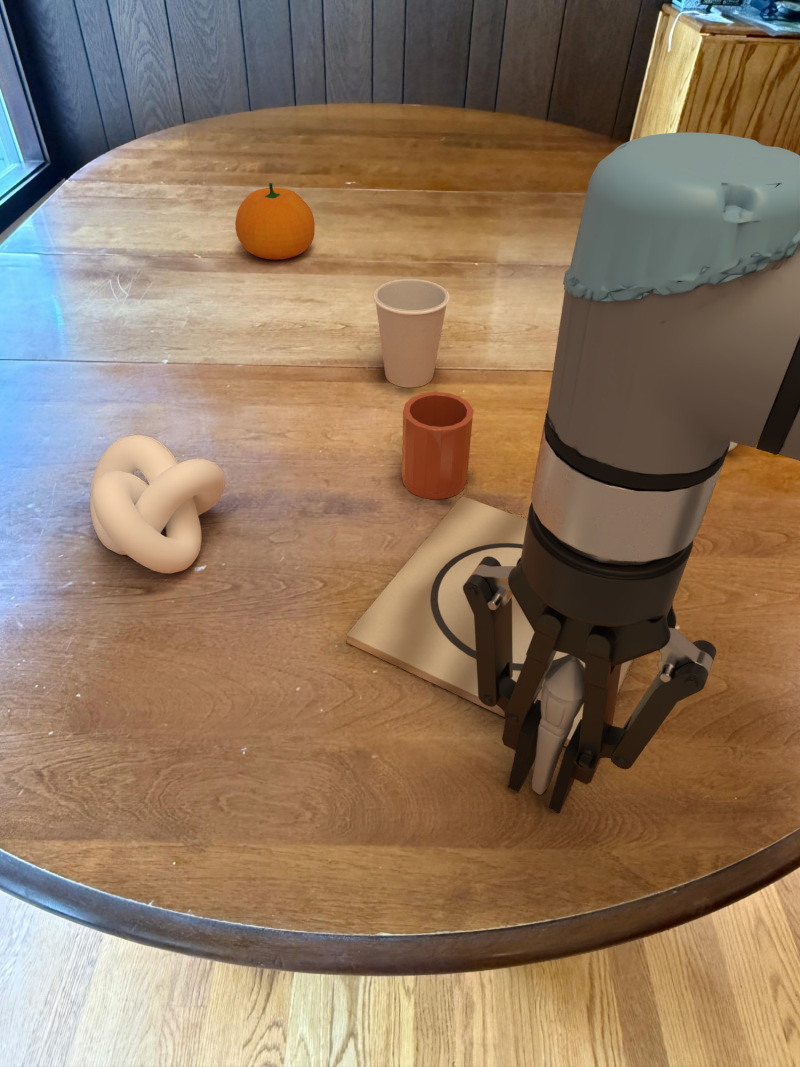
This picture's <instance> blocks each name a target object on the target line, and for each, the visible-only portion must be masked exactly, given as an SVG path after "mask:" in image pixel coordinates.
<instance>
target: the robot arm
mask: <svg viewBox="0 0 800 1067" xmlns="http://www.w3.org/2000/svg"><path fill="white" fill-rule="evenodd" d="M585 194H586V195H585V199H584V203H583V208H582V213H581V217H580V221H579V225H578V230H577V233H576V234H577V235H576V239H575V243H574V248H573V252H572V256H571V262H570V265H569V268H568V269H566V271H565V272H564V277H563V281H562V285H563V291H564V292H563V293H564V294H563V300H562V307H561V314H560V320H559V327H558V335H557V341H556V347H555V355H554V362H553V368H552V375H551V382H550V387H549V396H548V403H547V409H546V413H545V418H544V422H543V427H542V431H541V432H542V433H541V438H540V444H539V448H538V454H537V460H536V465H535V469H534V470H535V472H534V477H533V482H532V488H531V496H530V499H531V502H530V505H529V507H528V512H527V513H528V514H527V519H526V520H527V525H526V531H525V536H524V542H523V548H522V554H521V557H520V558H519V560H518V561H517V565H516V566H501V564H500V562H499V561H498V560H497V559H495V558H493V557H490V556H487V557H484V558H483V559H482V561H481V562H480V563H479V565H478V566H477V567H476V569H475V570H474V572H473V573H472V574H471V576H470V577H469V578H468V580H467V581H466V582H465V584H464V585H463V591H464V594H465V596H466V598H467V600H468V603H469V605H470V607H471V609H472V612H473V614H474V624H475V643H476V662H477V681H478V697H479V700H480V701H481V702H482V703H483V704H485V705H487V706H489V707H494V706H495V705H497V706H499V707H500V708H501V709H502V710H503V711H504V713H505V714H504V717H503V718H504V719H505V721H504V726H503V732H502V735H501V736H502V737H501V740H502V743H503V746H505V747H507V748H509V749H511V750H513V751H514V756H513V760H512V766H511V770H510V774H509V780H508V784H507V788H509V789H510V790H512V791H514V792H516V793H519V792H520V790H521V788H522V787H523V785H524V782H525V780H526V778H527V777H528V775H529V773H530V771H531V769H532V767H533V765H534V764H535V758H536V748H537V737H538V726H539V724H540V720H541V718H542V715H541V701H540V700H538V699H537V700H536V698H537V696H538V694H539V692H540V691H541V689H542V685H543V682H544V680H545V676H546V674H547V672H548V671H549V668H550V666H551V664H552V661H553V659H554V657H555V654H556V652H557V651H558V652H562V653H566V654H571V655H573V656H575V657H576V658H578V659H579V660H581V661H582V662H584V663H585V671H584V682H585V683H586V686H585V695H584V704H583V713H582V719H580V721H579V723H578V725H577V727H576V729H575V731H574V733H573V735H572V737H571V739H570V742H569V744H568V746H567V747H566V748H565V749H564V752H563V755H562V759H561V761H560V762H561V763H560V766H559V770H558V773H557V776H556V780H555V783H554V787H553V791H552V794H551V797H550V800H549V804H548V809H549V810H551V811H553V812H555V813H557V814H560V813H561V811H562V809H563V806H564V805H565V802H566V800H567V798H568V796H569V794H570V792H571V789H572V787H573V785H574V782H575V780H576V781H578V782H580V783H581V784H584V785H586V786H588V784H590V783H592V781H593V778H594V776H595V774H596V772H597V770H598V767H599V765H600V762H601V759H610V762H611V763H612V764H613V765H614V766H616V768H618V769H621V770H629V769H631V768H632V767H633V765H634V764H635V762H636V761H637V759H638V758H639V756H640V755H641V754H642V752H643V751H644V750H645V748H646V747H647V745H648V744H649V742H650V741H651V739H652V738H653V737H654V735H655V734H656V733H657V731H658V730H659V729H660V727H661V726H662V724H663V723H664V722H665V720H666V719H667V717H668V716H669V714H670V713H671V712H672V711H673V709H674V708H675V706H676V705H677V703H679V702H680V701H683V700H685V699H687V698H689V697H691V696H693V695H695V694H697V693H699V692H701V691H702V690H704V689H705V688H706V684H707V681H708V679H709V676H710V672H711V669H712V668H713V664H714V661H715V658H716V656H717V651H718V650H717V647H716V646H715V645H714V644H713V643H711V642H710V641H708V640H704V639H697V640H695V641H693V642H692V641H691V640H689V639H688V638H687V637H686V636H684V635H683V634H682V633H681V632H680V631H679V630H677V629H676V625H677V615H676V613H675V610H674V604H673V602H674V600H675V596H676V594H677V591H678V588H679V587H680V586H679V585H680V583H681V581H682V578H683V574H684V573H685V570H686V567H687V564H688V562H689V558H690V556H691V554H692V549H693V547H694V541H695V539H696V537H697V535H698V532H699V530H700V527H701V525H702V523H703V521H704V517H705V515H706V512H707V509H708V507H709V504H710V501H711V499H712V497H713V493H714V491H715V488H716V485H717V482H718V480H719V477H720V476H721V472H722V469H723V467H724V464H725V460H726V457H727V455H728V449H729V446H730V442H734V443H737V444H738V445H741V446H746V447H750V448H754V449H756V450H759V451H762V452H766V453H768V454H772V455H773V456H777V455H779V456H783V457H786V458H789V459H793V460H796V461H799V462H800V154H798V153H797V152H796V153H795V152H794V151H791V150H789V149H786V148H782V147H779V146H768V145H764V144H760V143H759V141H757V140H755V139H751V138H746V137H741V136H735V135H730V134H723V133H712V132H711V133H710V132H693V131H692V132H691V131H689V132H687V131H686V132H666V133H665V132H664V133H657V134H650V135H646V136H642V137H638V138H634V139H632V140H629V141H627V142H624V143H622V144H620V145H619V146H617V147H616V148H615V149H614V150H612V152H611V153H609V154H608V155H606V156H605V157H604V158H602V159H601V161H599V162H598V163H597V166H595V169H594V170H593V173H592V174H591V177H590V179H589V182H588V185H587V190H586V193H585ZM512 595H514V597H515V599H516V601H517V602H518V604H519V606H520V608H521V609H522V611H523V613H524V615H525V616H526V618H527V620H528V622H529V623H530V625H531V627H532V629H533V630H534V634H533V637H532V640H531V642H530V645H529V648H528V650H527V653H526V659H525V661H524V664H523V667H522V669H521V672H520V674H519V677H518V680H517V682H515V681H514V680H513V679H512V676H513V650H512ZM657 651H658V652H659V653H660V657H659V659H658V661H657V664H656V666H657V669H658V673H657V674H656V675H655V677H654V679H653V680H652V682H651V683H650V684H649V686H648V688H647V689H646V691H645V692H644V694H643V695H642V697H641V698H640V700H639V701H638V703H637V705H636V707H634V710H633V711H632V712H631V714H630V715H629V717H628V719H627V720H626V722H625V723H624V725H623V727H619V726H615V725H613V724H614V717H615V711H616V704H617V703H616V702H617V698H618V695H617V691H618V685H619V678H620V672H621V665H622V663H625V662H628V661H631V660H633V661H634V660H635V659H639V658H641V657H645V656H647V655H650V654H652V653H656V652H657ZM535 700H536V702H535ZM534 702H535V704H534Z"/></svg>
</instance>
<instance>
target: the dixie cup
mask: <svg viewBox="0 0 800 1067" xmlns="http://www.w3.org/2000/svg"><path fill="white" fill-rule="evenodd" d="M372 298H373V301H374V303H375V306H376V314H377V321H378V322H377V323H378V329H379V330H378V331H379V336H380V344H381V345H380V346H381V354H382V359H383V367H384V375H385V378H386V380H387V382H389V383H391V384H393V385H395V386H398V387H402V388H418V387H423V386H425V385H427V384H429V383H431V381H432V380H433V378H434V374H435V368H436V364H437V358H438V353H439V352H438V351H439V347H440V342H441V337H442V331H443V326H444V321H445V314H446V310H447V305H448V304H449V303H450V299H451V297H450V293H449V292H448V290H446V289H445V287H443V286H442V285H440V284H438V283H435V282H433V281H429V280H426V279H420V278H400V279H395V280H390V281H387V282H385V283H382V284H381V285H379V286H378V287H377V288H376V289H375V290H374V292H373V295H372Z"/></svg>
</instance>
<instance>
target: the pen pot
mask: <svg viewBox="0 0 800 1067" xmlns="http://www.w3.org/2000/svg"><path fill="white" fill-rule="evenodd" d="M473 421H474V408H473V407H472V405H471V403H470V402H469V401H467V400H466V399H465V398H463V397H461V396H459V395H457V394H453V393H450V392H443V391H430V392H423V393H419V394H417V395H414V396H412V397H411V398H409V400H407V401H406V402H405V403H404V405H403V410H402V436H401V437H402V440H401V442H402V443H401V444H402V445H401V449H402V450H401V480H402V484H403V486H404V487H405V489H407V491H409V492H410V493H411V494H413V495H415V496H417V497H420V498H423V499H426V500H427V499H428V500H445V499H449V498H452V497H454V496H457V495H459V494H460V493H461V492H462V491H463V490H464V489H465V487H466V485H467V484H468V483H467V482H468V472H469V463H470V462H469V461H470V453H471V443H472V442H471V440H472V431H473Z"/></svg>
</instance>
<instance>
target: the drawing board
mask: <svg viewBox="0 0 800 1067" xmlns="http://www.w3.org/2000/svg"><path fill="white" fill-rule="evenodd" d="M526 525H527V519H526V518H524V517H520V516H518V515H515V514H512V513H510V512H507V511H504V510H502V509H499V508H496V507H494V506H491V505H488V504H485V503H483V502H480V501H477V500H475V499H472V498H469V497H467V496H464V495H461V497H460V498H459V499H458V500H457V501H456V503H454V505H453V506H452V507H451V508H450V509H449V511H448V512H447V513H446V515H445V516H444V517H443V518H441V521H439V523H438V524H437V525H436V526H435V528H434V529H433V530H432V531H431V533H430V534H429V535H428V536H427V538H426V539H424V541H423V542H422V543H421V545H420V546H419V547H418V548H417V549H416V550H415V552H413V554H412V555H411V556H410V557H409V559H408V560H406V563H405V564H404V565H403V566H402V567H401V568H400V569H399V571H398V572H397V573H396V574H395V576H394V577H393V578H391V581H390V582H389V583H388V584H387V585H386V586H385V588H384V589H383V590H382V591H381V592H380V593H379V595H378V596H377V597H376V598H375V600H374V601H373V602H372V603H371V604H370V606H369V607H368V608H367V609H366V610H365V612H364V613H363V614H362V616H360V618H359V619H358V620H357V621H356V623H355V624H354V625H353V626H352V627H351V628H350V630H349V631H348V632H347V633H346V644H348V645H350V646H353V647H356V648H357V649H359V650H361V651H364V652H366V653H368V654H370V655H373V656H374V657H377V658H378V659H381V660H383V661H385V662H387V663H389V664H392V665H393V666H395V667H397V668H399V669H401V670H403V671H406V672H408V673H410V674H412V675H415V676H417V677H419V678H421V679H423V680H425V681H427V682H429V683H431V684H433V685H435V686H437V687H439V688H442V689H444V690H446V691H448V692H450V693H451V694H452V693H453V694H454V695H456V696H458V697H461V698H463V699H464V700H467V701H469V702H471V703H473V704H476V705H478V706H479V707H482V708H484V709H486V710H488V711H490V712H492V713H494V714H496V715H499V716H500V717H502V718H505V717H504V714H505V713H504V711H503V710H502V709H501V708H500V707H499V706H497V705H495V706H494V707H489V706H487V705H485V704H483V703H482V702H481V701H480V700H479V697H478V681H477V662H476V643H475V624H474V614H473V612H472V609H471V607H470V605H469V603H468V600H467V598H466V596H465V594H464V591H463V585H464V584H465V582H466V581H467V580H468V578H469V577H470V576H471V574H472V573H473V572H474V570H475V569H476V567H477V566H478V565H479V563H480V562H481V561H482V559H483V558H484V557H487V556H490V557H493V558H495V559H497V560H498V561H499V562H500V564H501V566H516V565H517V561H518V560H519V558H520V557H521V554H522V548H523V542H524V536H525V531H526ZM533 634H534V630H533V629H532V627H531V625H530V623H529V622H528V620H527V618H526V616H525V615H524V613H523V611H522V609H521V608H520V606H519V604H518V602H517V601H516V599H515V597H514V595H512V650H513V676H512V679H513V680H514V681H515V682H517V680H518V677H519V674H520V672H521V669H522V667H523V664H524V661H525V659H526V653H527V650H528V648H529V645H530V642H531V640H532V637H533ZM572 656H573V655H571V654H566V653H562V652H558V651H557V652H556V654H555V657H554V659H553V661H552V664H551V666H550V668H552V667H553V666H554V665H556V664H558V663H560V662H562V661H563V660H565V659H567V658H569V657H572ZM580 662H581V663H582V664H583V666H584V668H585V663H584V662H582V661H581V660H580ZM633 662H634V659H633V660H631V661H628V662H625V663H622V665H621V672H620V678H619V685H618V691H617V696H618V695H619V692H620V690H621V688H622V686H623V684H624V681H625V679H626V677H627V675H628V672H629V670H630V668H631V666H632V664H633ZM550 668H549V669H550ZM544 682H545V680H544ZM544 682H543V685H544ZM543 685H542V689H543ZM542 689H541V691H540V692H539V694H538V696H537V698H536V700H537V699H538V700H540V701H541V694H542ZM536 700H535V702H536ZM535 702H534V704H535ZM583 704H584V703H583ZM582 713H583V705H582V707H581V709H580V711H579V712H578V714H577V716H576V717H575V718H574V722H573V727H572V729H571V731H570V733H569V735H568V738H567V740H566V742H565V744H564V747H566V748H567V746H568V744H569V742H570V739H571V737H572V735H573V733H574V731H575V729H576V727H577V725H578V723H579V721H580V719H582Z"/></svg>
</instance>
